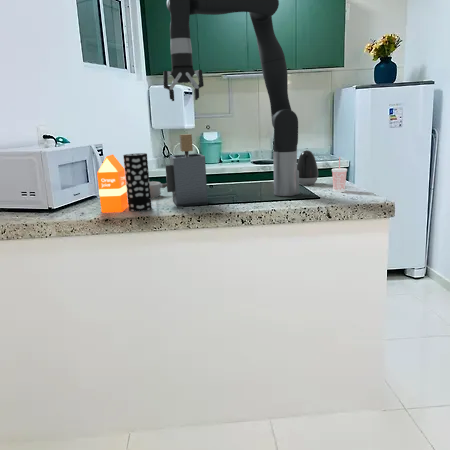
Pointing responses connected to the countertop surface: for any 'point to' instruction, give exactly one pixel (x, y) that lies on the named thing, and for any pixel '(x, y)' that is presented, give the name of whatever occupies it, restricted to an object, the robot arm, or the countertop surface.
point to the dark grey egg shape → (307, 168)
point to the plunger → (186, 143)
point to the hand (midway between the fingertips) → (184, 100)
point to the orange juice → (112, 186)
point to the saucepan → (156, 188)
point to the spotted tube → (137, 182)
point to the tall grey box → (187, 180)
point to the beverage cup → (339, 178)
